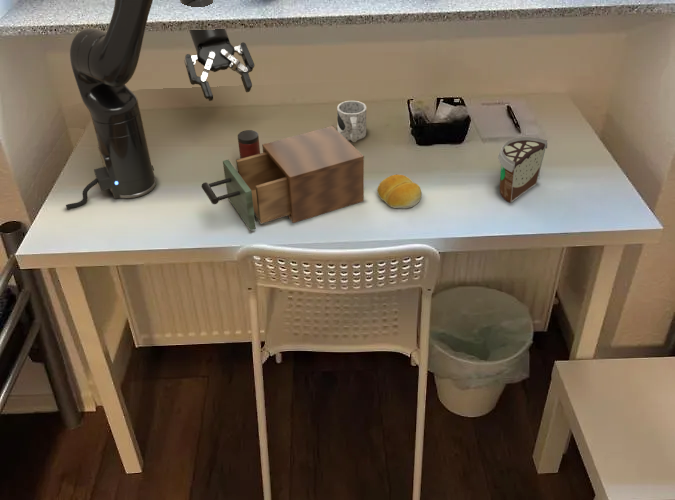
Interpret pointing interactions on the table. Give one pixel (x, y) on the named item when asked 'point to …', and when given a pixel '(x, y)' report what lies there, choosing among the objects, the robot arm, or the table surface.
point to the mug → (351, 120)
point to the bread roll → (399, 191)
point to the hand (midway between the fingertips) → (230, 95)
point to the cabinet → (319, 171)
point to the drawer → (254, 189)
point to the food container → (520, 165)
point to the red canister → (248, 143)
